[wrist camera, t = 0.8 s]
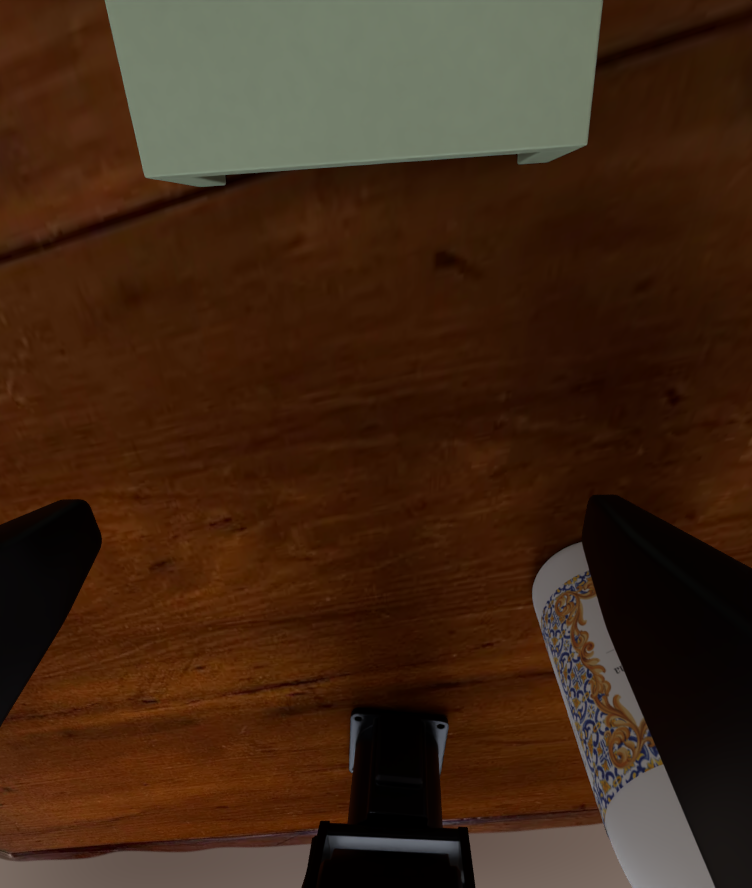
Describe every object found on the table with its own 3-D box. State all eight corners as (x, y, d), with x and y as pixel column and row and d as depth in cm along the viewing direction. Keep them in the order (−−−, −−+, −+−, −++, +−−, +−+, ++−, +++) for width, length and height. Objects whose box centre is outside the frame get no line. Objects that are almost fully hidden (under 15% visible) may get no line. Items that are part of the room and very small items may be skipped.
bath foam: (656, 522, 25) (1320, 1329, 7) (660, 621, 28) (1140, 1383, 9) (521, 546, 26) (779, 1289, 8) (537, 638, 29) (757, 1347, 11)
